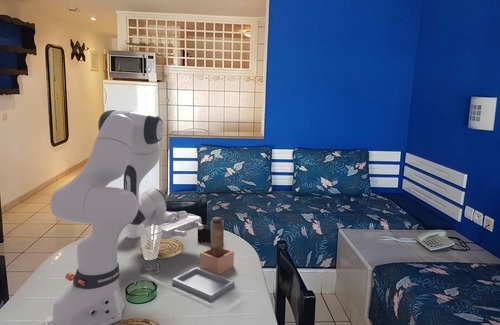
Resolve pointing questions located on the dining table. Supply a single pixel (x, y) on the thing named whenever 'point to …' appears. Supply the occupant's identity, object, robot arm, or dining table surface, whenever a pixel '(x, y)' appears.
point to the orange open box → (216, 261)
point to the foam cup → (132, 230)
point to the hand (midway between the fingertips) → (193, 230)
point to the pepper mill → (217, 237)
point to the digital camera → (204, 234)
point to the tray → (203, 283)
